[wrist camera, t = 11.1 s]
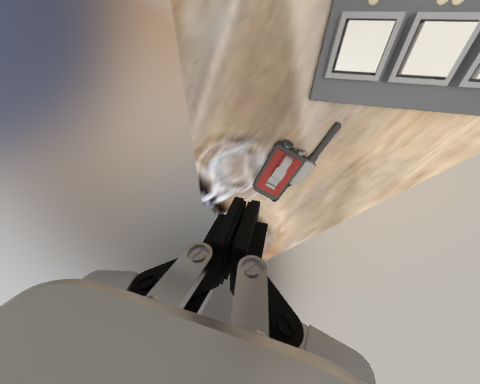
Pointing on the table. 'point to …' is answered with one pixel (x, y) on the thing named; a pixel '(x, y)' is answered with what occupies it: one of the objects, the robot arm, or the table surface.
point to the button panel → (400, 59)
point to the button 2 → (435, 48)
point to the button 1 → (362, 45)
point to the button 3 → (476, 73)
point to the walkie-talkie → (287, 167)
